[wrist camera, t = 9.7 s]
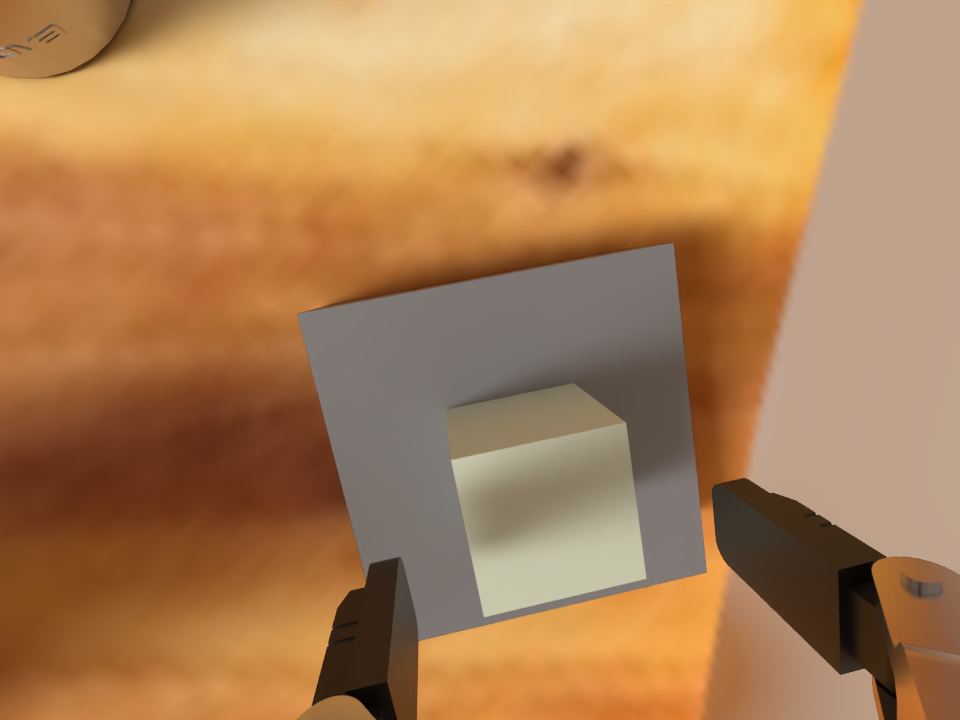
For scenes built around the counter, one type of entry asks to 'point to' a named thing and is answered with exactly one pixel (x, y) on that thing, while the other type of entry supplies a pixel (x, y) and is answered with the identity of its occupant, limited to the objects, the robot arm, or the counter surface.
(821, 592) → the robot arm
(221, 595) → the counter surface
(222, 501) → the counter surface
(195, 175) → the counter surface
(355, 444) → the plinth
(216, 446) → the counter surface
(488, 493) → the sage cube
